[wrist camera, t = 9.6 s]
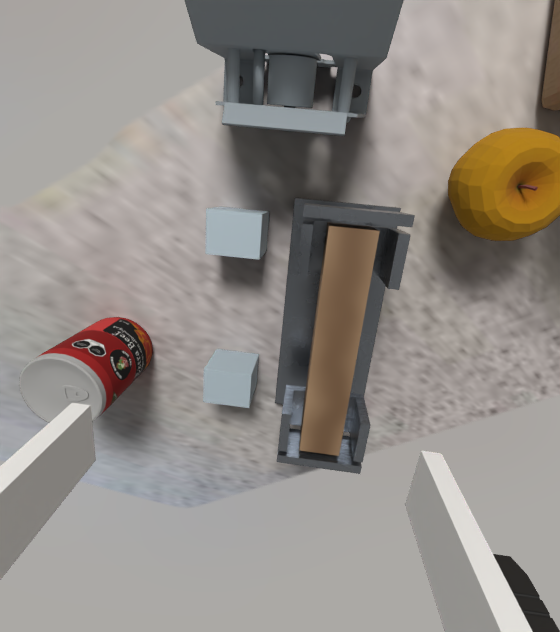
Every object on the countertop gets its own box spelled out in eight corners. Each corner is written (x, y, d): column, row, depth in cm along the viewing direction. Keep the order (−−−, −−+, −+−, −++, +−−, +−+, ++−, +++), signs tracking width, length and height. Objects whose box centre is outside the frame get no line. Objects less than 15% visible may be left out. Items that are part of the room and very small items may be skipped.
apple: (412, 193, 33) (444, 193, 25) (484, 114, 31) (547, 85, 22) (473, 251, 35) (523, 269, 26) (548, 180, 32) (630, 175, 24)
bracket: (379, 23, 29) (438, -133, 15) (359, 151, 33) (392, 121, 19) (228, 12, 30) (151, -147, 16) (223, 139, 33) (157, 100, 19)
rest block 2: (215, 378, 42) (203, 402, 38) (216, 349, 41) (203, 369, 36) (256, 384, 42) (249, 408, 37) (258, 354, 41) (251, 375, 36)
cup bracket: (276, 397, 42) (263, 461, 32) (295, 198, 34) (287, 200, 24) (359, 408, 42) (373, 477, 32) (397, 207, 34) (433, 214, 24)
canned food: (164, 366, 42) (115, 421, 32) (107, 378, 44) (42, 436, 33) (139, 307, 40) (79, 347, 30) (80, 323, 42) (2, 366, 31)
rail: (300, 425, 35) (299, 450, 32) (327, 221, 28) (329, 225, 25) (336, 430, 35) (338, 455, 32) (371, 226, 28) (379, 230, 25)
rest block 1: (219, 246, 37) (205, 253, 32) (220, 206, 35) (206, 208, 31) (266, 251, 36) (259, 259, 32) (269, 211, 35) (262, 214, 30)
